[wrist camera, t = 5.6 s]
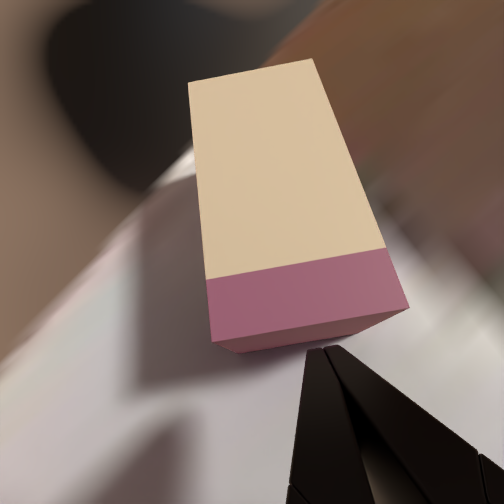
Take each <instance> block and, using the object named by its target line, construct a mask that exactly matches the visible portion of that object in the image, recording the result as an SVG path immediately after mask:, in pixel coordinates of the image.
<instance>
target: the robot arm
mask: <svg viewBox="0 0 504 504" xmlns="http://www.w3.org/2000/svg"><path fill="white" fill-rule="evenodd" d="M289 484H290V485H289V486H288V490H287V498H286V504H504V470H503V469H502V468H501V467H499V466H498V465H497V464H495V463H494V462H493V461H491V460H490V459H489V458H487V457H486V456H485V455H483V454H478V451H477V449H475V448H474V447H473V446H471V445H470V444H469V443H467V442H466V441H465V440H463V439H462V438H461V437H460V436H458V435H457V434H456V433H454V432H453V431H452V430H450V429H449V428H448V427H446V426H445V425H444V424H442V423H441V422H440V421H439V420H437V419H436V418H435V417H433V416H432V415H431V414H429V413H428V412H427V411H425V410H424V409H423V408H421V407H420V406H419V405H417V404H416V403H415V402H414V401H412V400H411V399H410V398H408V397H407V396H406V395H404V394H403V393H402V392H400V391H399V390H398V389H396V388H395V387H394V386H393V385H391V384H390V383H389V382H387V381H386V380H385V379H383V378H382V377H381V376H379V375H378V374H377V373H375V372H374V371H373V370H371V369H370V368H369V367H368V366H366V365H365V364H364V363H362V362H361V361H360V360H358V359H357V358H356V357H354V356H353V355H352V354H350V353H349V352H348V351H347V350H345V349H344V348H343V347H341V346H340V345H332V346H326V347H324V348H323V349H322V348H315V349H309V350H307V353H306V361H305V368H304V375H303V383H302V390H301V397H300V405H299V412H298V419H297V427H296V434H295V441H294V449H293V456H292V463H291V470H290V478H289Z"/></svg>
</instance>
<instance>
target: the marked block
mask: <svg viewBox="0 0 504 504" xmlns="http://www.w3.org/2000/svg"><path fill="white" fill-rule="evenodd" d="M188 89H189V99H190V111H191V121H192V132H193V144H194V155H195V166H196V177H197V188H198V199H199V210H200V221H201V232H202V243H203V254H204V265H205V275H206V286H207V297H208V308H209V319H210V330H211V341H212V343H215V344H217V345H219V346H222V347H224V348H226V349H228V350H231V351H233V352H235V353H238V354H241V353H247V352H252V351H258V350H264V349H270V348H276V347H281V346H287V345H293V344H299V343H305V342H310V341H316V340H322V339H328V338H334V337H339V336H345V335H351V334H357V333H359V332H361V331H363V330H365V329H368V328H370V327H372V326H374V325H376V324H378V323H380V322H382V321H384V320H386V319H388V318H390V317H392V316H394V315H396V314H398V313H400V312H402V311H404V310H406V309H408V308H410V307H409V304H408V302H407V299H406V297H405V294H404V292H403V289H402V287H401V284H400V281H399V279H398V276H397V274H396V271H395V269H394V266H393V264H392V261H391V259H390V256H389V253H388V251H387V248H386V246H385V243H384V241H383V238H382V236H381V233H380V231H379V228H378V225H377V223H376V220H375V218H374V215H373V213H372V210H371V208H370V205H369V203H368V200H367V197H366V195H365V192H364V190H363V187H362V185H361V182H360V180H359V177H358V175H357V172H356V169H355V167H354V164H353V162H352V159H351V157H350V154H349V152H348V149H347V147H346V144H345V141H344V139H343V136H342V134H341V131H340V129H339V126H338V124H337V121H336V119H335V116H334V113H333V111H332V108H331V106H330V103H329V101H328V98H327V96H326V93H325V90H324V88H323V85H322V83H321V80H320V78H319V75H318V73H317V70H316V68H315V65H314V62H313V60H312V59H307V60H302V61H297V62H292V63H287V64H282V65H277V66H271V67H266V68H261V69H256V70H251V71H246V72H241V73H236V74H231V75H225V76H220V77H216V78H210V79H205V80H200V81H194V82H189V83H188Z"/></svg>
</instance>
